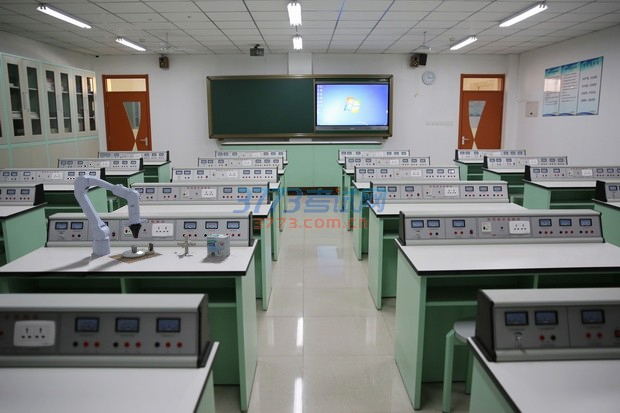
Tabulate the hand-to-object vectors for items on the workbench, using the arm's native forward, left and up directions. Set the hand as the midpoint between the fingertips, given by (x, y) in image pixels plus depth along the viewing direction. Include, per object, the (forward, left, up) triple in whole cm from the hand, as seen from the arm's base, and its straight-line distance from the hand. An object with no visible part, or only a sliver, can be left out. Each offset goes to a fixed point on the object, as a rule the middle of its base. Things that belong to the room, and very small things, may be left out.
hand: (135, 237), depth 238 cm
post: (+4, -4, -6) cm, 9 cm away
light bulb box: (+36, +26, -10) cm, 46 cm away
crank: (+5, -2, -8) cm, 10 cm away
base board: (+4, -4, -9) cm, 11 cm away
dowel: (+6, +4, -8) cm, 11 cm away
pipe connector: (+19, +18, -10) cm, 28 cm away
